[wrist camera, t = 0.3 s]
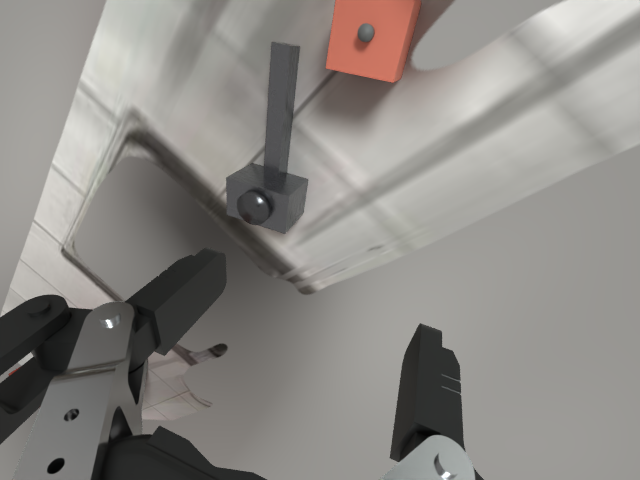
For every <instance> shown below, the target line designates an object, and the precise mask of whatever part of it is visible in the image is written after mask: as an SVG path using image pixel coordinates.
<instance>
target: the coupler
mask: <svg viewBox="0 0 640 480" xmlns="http://www.w3.org/2000/svg"><path fill="white" fill-rule="evenodd" d="M299 50H300V46H295V45H290V44H285V43H277V42H272V44H271V61H270V78H269V95H268V112H267V129H266V146H265V163H264V166H261V165H257V164H254V163H252V164H250V165H248V166H246V167H244V168H243V169H241V170H239V171H237V172H235V173H234V174H232V175H230V176H228V177H226V186H227V215H229V216H232V217H235V218H238V219H241V220H244V221H246V222H248V223H250V224H252V225H260V226H263V227H266V228H269V229H272V230H275V231H278V232H281V233H284V234H285V233H286V232H287V231H288V230H289V229H290V228H291V227H292V226H293V224H294V223H295V222H296V221H297V220H298V219H299V218H300V217H301V215H302V214H303V212H304V205H305V199H306V192H307V185H308V179H306V178H302V177H299V176H295V175H292V174H288V173H287V166H288V157H289V147H290V137H291V128H292V118H293V108H294V98H295V89H296V79H297V69H298V60H299Z"/></svg>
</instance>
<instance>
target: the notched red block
mask: <svg viewBox="0 0 640 480" xmlns="http://www.w3.org/2000/svg"><path fill="white" fill-rule="evenodd" d="M420 7H421V1H420V0H336V1H335V8H334V15H333V22H332V28H331V35H330V42H329V49H328V55H327V62H326V69H331V70H336V71H340V72H345V73H350V74H354V75H359V76H364V77H369V78H373V79H378V80H383V81H387V82H392V83H394V82H396V81H398V80H400V79H401V77H402V73H403V69H404V66H405V62H406V58H407V55H408V51H409V47H410V44H411V40H412V36H413V33H414V29H415V25H416V22H417V18H418V14H419V11H420Z"/></svg>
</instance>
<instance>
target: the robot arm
mask: <svg viewBox="0 0 640 480" xmlns="http://www.w3.org/2000/svg"><path fill="white" fill-rule="evenodd" d="M225 285H226V257H225V254H224V253H222V252H219V251H216V250H213V249H211V248H204V249H203V250H201V251H200V252H199V253H198V254H196V255H195V256H192V255H189V256H187V257H185V258H182V259H180V260H178V261H176V262H175V263H174V264H172V265H171V266H170V267H169V268H168V269H167V270H165V271H163V272H162V273H161V274H160V275H159V277H158V276H157V277H156V278H155V279H153V280H152V281H151V282H149V283H148V284H147V285H146V286H144V287H143V288H142V289H140V290H139V291H138V292H137V293H135V294H134V295H133V296H132V297H130V298H129V299H128V300H126V301H125V302H119V301H117V302H109V303H106V304H103V305H101V306H99V307H97V308H95V309H94V310H90V309H79V308H69V307H68V305H67V303H66V300H65V299H64V298H63V297H61V296H58V295H43V296H38V297H35V298H32V299H30V300H28V301H26V302H24V303H22V304H20V305H19V306H17V307H16V308H14V309H13V310H11V311H10V312H8V313H6V314H5V315H3V316H2V317H0V375H2V374H3V373H4V372H5V371H7V370H8V369H9V368H11V367H12V366H13V365H14V364H16V363H17V362H18V361H20V360H21V359H22V358H24V357H25V356H26V355H27V354H29V353H30V352H31V353H32V355H33V356H34V357H33V358H31V359H30V360H29V361H28V362H26V363H25V364H24V365H23V366H21V367H20V368H19V369H18V370H16V371H15V372H14V373H12V374H11V375H10V376H9V377H8V378H6V379H5V380H4V381H2V382H1V383H0V444H1V443H2V442H3V441H4V440H5V439H6V438H7V437H9V436H10V435H11V434H12V433H13V432H14V431H15V430H16V429H17V428H18V427H19V426H20V425H21V424H22V423H23V422H25V421H26V420H27V419H28V418H29V417H30V416H31V415H32V414H33V413H34V412H35V411H36V410H37V409H38V408H39V407H40V406H41V407H40V410H39V412H38V415H37V417H36V420H35V422H34V425H33V427H32V430H31V432H30V435H29V437H28V440H27V443H26V445H25V448H24V450H23V453H22V455H21V458H20V460H19V463H18V466H17V468H16V471H15V473H14V476H13V479H12V480H267V479H265V478H263V477H261V476H259V475H257V474H254V473H252V472H246V471H238V470H232V469H225V468H218V467H215V466H213V465H212V464H210V462H209V461H208V460H207V459H206V458H205V457H204V456H203V455H202V454H201V453H200V452H199V451H198V450H197V449H196V448H195V447H194V446H193V445H192V443H191V442H190V441H188V440H187V439H185V438H182V437H181V436H179V435H177V434H175V433H173V432H171V431H169V430H167V429H165V428H163V427H161V426H159V427H158V428H157V430H156V431H155V432H154V433H153V435H150V434H145V435H144V434H142V403H143V396H144V389H145V381H146V374H147V367H148V357H149V356H150V355H151V354H152V353H153V352H154V351H155V352H157V353H159V354H161V355H164V356H165V355H166V354H167V353H168V352H169V351H170V349H171V348H172V347H173V346H174V345H175V344H176V343H177V342H178V341H179V340H180V338H181V337H182V336H183V335H184V334H185V333H186V332H187V331H188V330H189V329H190V328H191V327H192V325H193V324H194V323H195V322H196V321H197V320H198V319H199V318H200V317H201V316H202V315H203V314H204V312H205V311H206V310H207V309H208V308H209V307H210V306H211V305H212V304H213V303H214V302H215V301H216V299H217V298H218V297H219V296H220V295H221V294H222V292H223V290H224V288H225ZM460 394H461V384H460V365H459V363H458V361H457V359H456V357H455V355H454V352H453V351H452V350H449V349H446V348H443V347H442V332H441V331H440V330H437V329H435V328H432V327H429V326H426V325H423V324H419V326H418V327H417V329H416V332H415V334H414V336H413V338H412V340H411V342H410V344H409V346H408V348H407V350H406V352H405V355H404V359H403V363H402V370H401V378H400V385H399V393H398V401H397V408H396V415H395V423H394V430H393V438H392V445H391V454H390V458H391V459H393V460H395V461H397V462H399V463H398V464H397V465H396V466H394V467H393V468H392V469H391V470H390V471H389V472H388V473H387V474H385V475H384V476H383V477H382V478H380V479H379V480H484V479H483V478H482V477H481V476H480V475H479V474H478V473H477V472H476V470H475V469H474V467H473V466H472V463H471V461H470V459H469V457H468V455H467V454H466V451H465V448H464V441H463V422H462V404H461V403H462V402H461V395H460Z"/></svg>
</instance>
